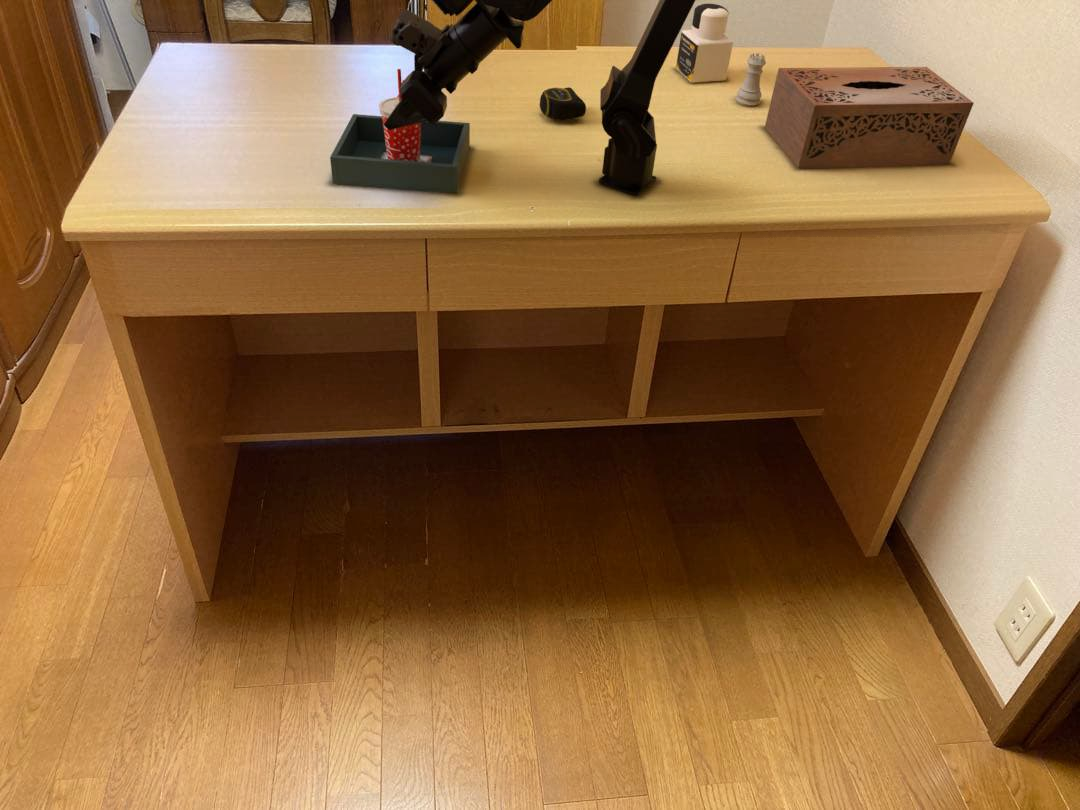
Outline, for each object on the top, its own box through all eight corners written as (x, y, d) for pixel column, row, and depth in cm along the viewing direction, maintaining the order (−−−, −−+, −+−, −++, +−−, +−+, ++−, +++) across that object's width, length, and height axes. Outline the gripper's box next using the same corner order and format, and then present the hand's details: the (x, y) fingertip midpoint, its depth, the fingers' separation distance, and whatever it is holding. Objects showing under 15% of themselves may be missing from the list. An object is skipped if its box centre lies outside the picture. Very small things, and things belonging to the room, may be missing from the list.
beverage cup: (378, 158, 128) (370, 63, 119) (417, 153, 130) (413, 59, 121) (389, 177, 124) (383, 80, 115) (430, 171, 126) (427, 75, 117)
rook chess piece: (765, 105, 151) (776, 59, 146) (743, 108, 150) (753, 61, 144) (751, 95, 154) (761, 50, 149) (730, 98, 153) (739, 52, 147)
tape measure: (586, 123, 142) (588, 100, 139) (546, 126, 140) (548, 103, 137) (572, 106, 146) (574, 84, 144) (533, 109, 145) (535, 86, 142)
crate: (469, 147, 133) (469, 122, 130) (457, 193, 122) (457, 167, 119) (355, 139, 133) (353, 113, 130) (332, 183, 122) (329, 157, 119)
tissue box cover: (797, 168, 133) (814, 105, 127) (764, 128, 144) (778, 68, 137) (949, 164, 137) (973, 102, 131) (906, 125, 148) (926, 66, 141)
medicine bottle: (675, 68, 162) (685, 1, 154) (709, 66, 164) (721, -1, 156) (690, 83, 157) (702, 14, 149) (726, 80, 159) (739, 12, 151)
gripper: (436, -29, 118) (362, 47, 125) (413, 16, 104) (331, 98, 111) (492, 35, 123) (418, 105, 131) (478, 86, 109) (395, 160, 117)
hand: (391, 115), depth 122 cm, fingers open, 8 cm apart
